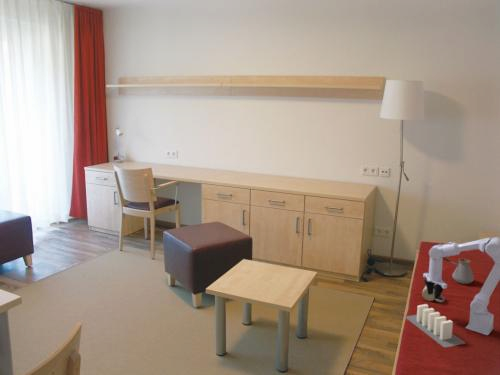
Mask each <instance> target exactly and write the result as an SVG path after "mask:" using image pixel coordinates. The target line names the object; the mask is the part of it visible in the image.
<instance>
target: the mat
mask: <svg viewBox="0 0 500 375" xmlns="http://www.w3.org/2000/svg"><path fill="white" fill-rule="evenodd" d="M404 318H405V319H406V320H408V321H409V322H410V323H412V325H414V326H416V327H417V328H418V329H419V330H421V331H422V332H423V333H424V334H426V335H427V336H428V337H430V338H431V339H432V340H434V342H436V343H437V344H439V345H440V346H442V347H443V348H444V349H445V348H450V347H454V346H458V345H463V344H466V342H465V341H463V340H462V339H461V338H459V337H457V336H456V335H455V334H454V333H452V338H450V339H445V340H441V339H440V335H434V334H433V333H434V330H432V331H429V330H428V326H425V327H424V326H423V325H422V322H417V314H411V315H406V316H404Z"/></svg>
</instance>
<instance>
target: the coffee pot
mask: <svg viewBox="0 0 500 375" xmlns="http://www.w3.org/2000/svg"><path fill="white" fill-rule="evenodd" d="M442 260H444V261H446V262H449V263H452V264H453V265H456V268H455V270H454V271H453V273H452V278H453V280H454V281H455V282H456V283H457V284H460V285H469V284H471V283H473V282H474V280H475V276H474V273H473V271H472V268H471V265H470V263H471V262H472V261H471V260H470V259H467V258H458V263H456V262H454V261H452V260H450V259H449V258H446V257H443V259H442Z"/></svg>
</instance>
